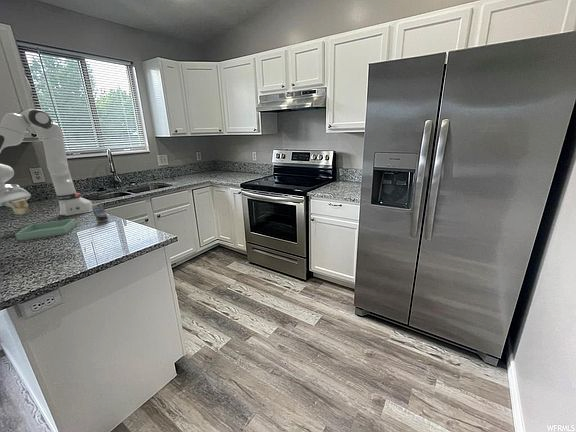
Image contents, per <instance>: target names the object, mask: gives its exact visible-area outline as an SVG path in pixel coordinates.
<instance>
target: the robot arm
mask: <svg viewBox="0 0 576 432" xmlns="http://www.w3.org/2000/svg"><path fill="white" fill-rule="evenodd" d="M28 128H38V129H39V131H40V133H41V138H42V143H43V149H44V155H45V160H46V167H47V170H48V172H49V175H50V179H51V181H52V185H53V188H54V191H55V194H56V197H55V198H56V200H57V202H58V203H59V204H58V205H59V214H60V216H66V217H67V216H74V215H78V214H85V213H91V212H93V210H92V205H94V204H93V202H92V201H91V200H89V199H86V198H84V197H82V196H81V193H80V192H77V190H76V188H75V184H74V182H73V178H72V176H71V171H70V169H69V164H68V159H67V153H66V146H65V140H64V139H65V138H64V135H63V131H62V128H61V126H60V125H59V124H58V123H56V122H54V121H53V120H52V118H51V117H50V115H49V114H48V113H47V112H46V111H44V110H42V109H39V108H37V109H36V108H29V109H23V110H21V111H19V112H18V113H15V112H8V113H5V114H4V116H3V117H2V119H1V121H0V154H1V153H2V151H3V150H4V149H5V148H7V147H13V146H18V145H20V144H22V143H23V141H24V139H25V134H26V130H27V129H28ZM14 175H15V170H14V168H13V167H11V166H10V165H7V164H4V163H0V207H2V206H5V207H8V208H11V209H12V210H13V209H15V208H16V207H17V206H15V205H12V204H10V202H12V201H16V200H26V201H27V200H29V199H30V198H31V195H32V194H31V193H30V192H28V191H27V190H26V189H25V188H23V187H20V185H18V184H13V183H12V184H11V183H10V184H9V183H7V182H8V181H10V180H12V178H13V177H14ZM27 204H28V205H29V203H28V202H27Z"/></svg>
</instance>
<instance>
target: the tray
mask: <svg viewBox="0 0 576 432" xmlns="http://www.w3.org/2000/svg"><path fill="white" fill-rule="evenodd" d="M77 225H78V223H77V220H76V218H69V219H62V220H54V221H46V222H38V223H32V224H30V225H28V226H26V227H25V228H23V229H21V230H20V231H18V232H17V233H15V234H14V236H15V238H16V240H17V242H21V241H28V240H33V239H42V238H47V237H55V236H62V235H66V234H68V233H69V232H70V231H71V230H73V229H74V228H75V227H76V226H77Z"/></svg>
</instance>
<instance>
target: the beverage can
mask: <svg viewBox="0 0 576 432" xmlns="http://www.w3.org/2000/svg"><path fill="white" fill-rule="evenodd" d="M92 210H93V211H92V212H93V215H94V217H95V219H96V222H98V223H102V222H105V221H108V216H107V215H108V214H107V213H106V210H105V207H104V205H103V204H102V202H99V203H95V204H93V205H92Z"/></svg>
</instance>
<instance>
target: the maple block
mask: <svg viewBox="0 0 576 432" xmlns="http://www.w3.org/2000/svg"><path fill="white" fill-rule="evenodd" d="M27 203H28V201H27V200H16V201H12V202H10V204H12V205H15V206H17V207H16V208H15V209H12V211H13V213H14V215H24V214H28V213H31V210H30V207H29V203H28V204H27Z"/></svg>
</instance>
